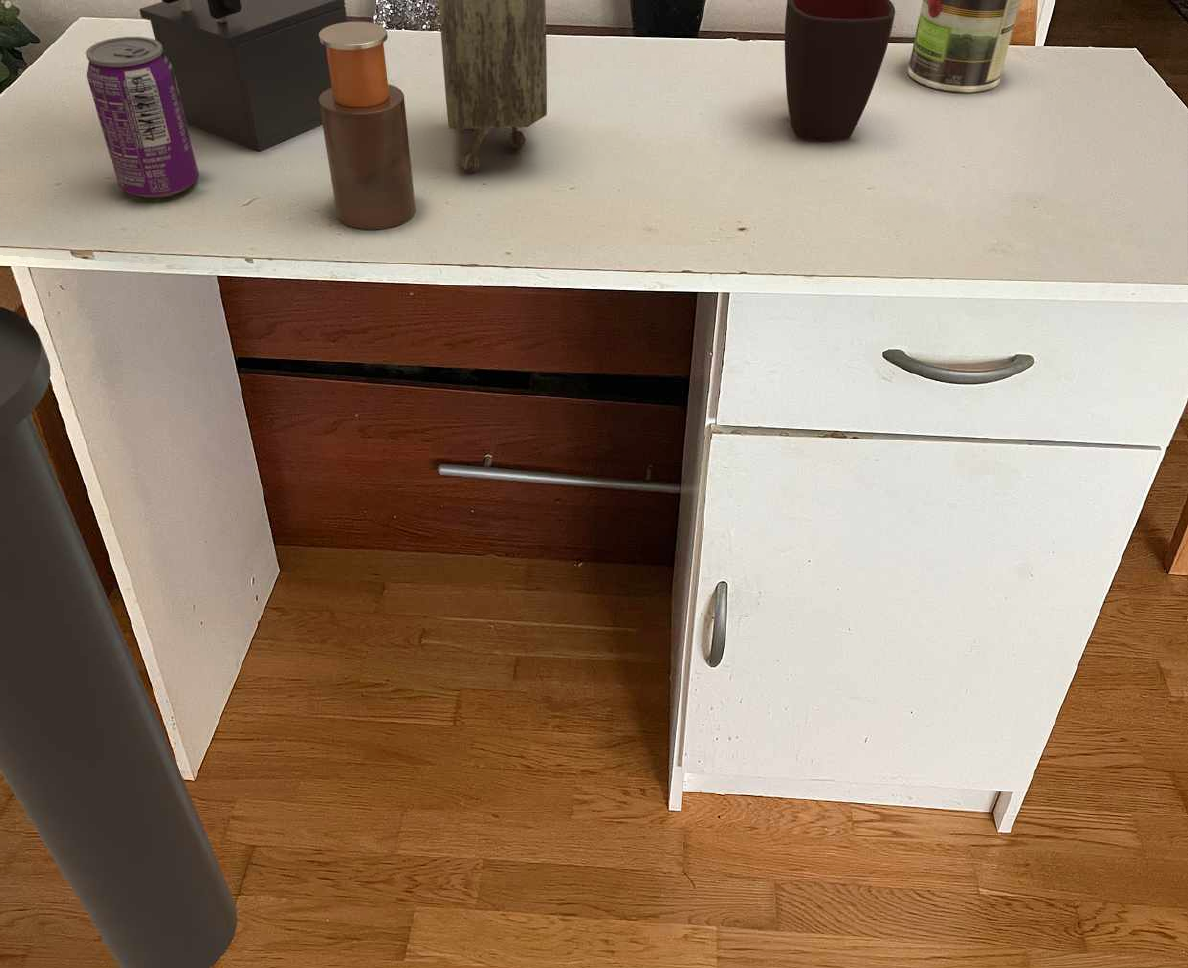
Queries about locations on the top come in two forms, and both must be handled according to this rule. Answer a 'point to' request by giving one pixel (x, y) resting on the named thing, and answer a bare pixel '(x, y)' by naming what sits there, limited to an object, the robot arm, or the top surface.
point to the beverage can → (141, 116)
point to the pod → (356, 63)
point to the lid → (236, 17)
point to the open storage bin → (252, 80)
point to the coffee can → (962, 43)
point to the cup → (833, 62)
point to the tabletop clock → (493, 67)
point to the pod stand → (369, 161)
